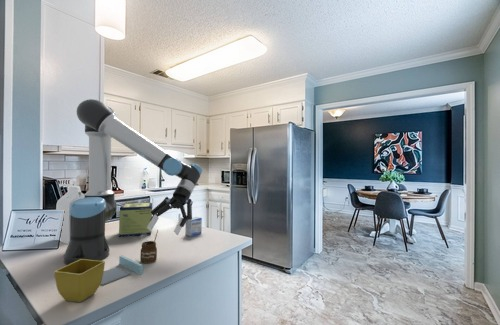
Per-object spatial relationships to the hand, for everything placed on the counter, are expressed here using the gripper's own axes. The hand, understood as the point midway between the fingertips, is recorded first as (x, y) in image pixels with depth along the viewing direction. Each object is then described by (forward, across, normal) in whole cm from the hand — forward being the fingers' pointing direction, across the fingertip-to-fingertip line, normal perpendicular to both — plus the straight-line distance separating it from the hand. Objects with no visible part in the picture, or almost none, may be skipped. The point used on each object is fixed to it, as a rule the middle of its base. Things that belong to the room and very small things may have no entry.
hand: (162, 231), depth 99 cm
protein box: (-6, +33, -21) cm, 39 cm away
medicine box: (-14, +4, -29) cm, 32 cm away
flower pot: (+30, +2, +16) cm, 34 cm away
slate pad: (+22, +4, +8) cm, 23 cm away
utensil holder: (+12, +1, -3) cm, 12 cm away
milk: (+6, +54, -8) cm, 55 cm away
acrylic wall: (+17, +2, +3) cm, 17 cm away
